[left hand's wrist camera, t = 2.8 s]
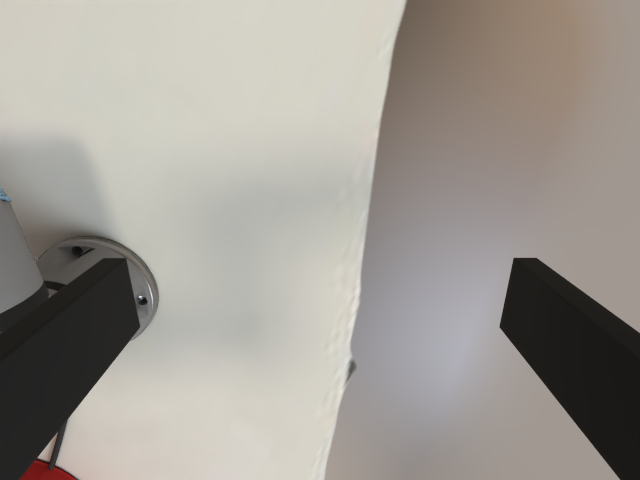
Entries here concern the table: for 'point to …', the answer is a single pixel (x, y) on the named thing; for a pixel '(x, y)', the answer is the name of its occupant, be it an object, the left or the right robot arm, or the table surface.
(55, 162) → the table surface
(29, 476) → the bucket
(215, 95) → the table surface
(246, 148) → the table surface
